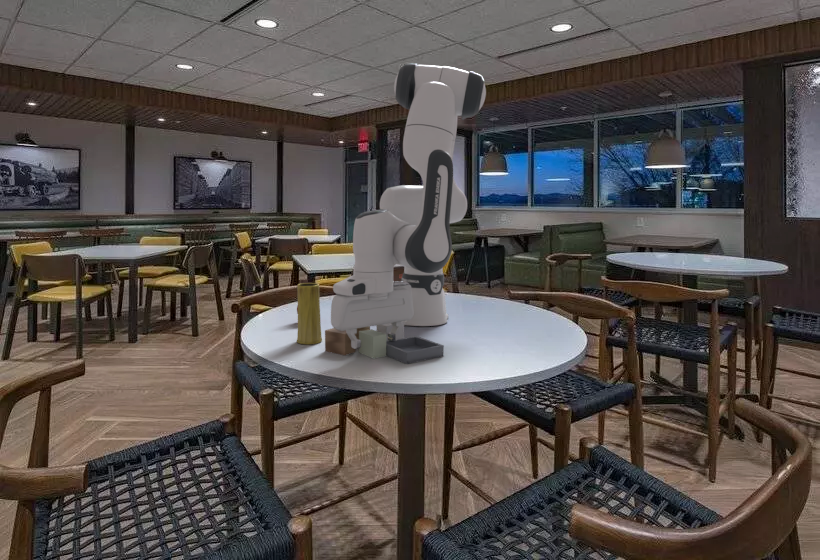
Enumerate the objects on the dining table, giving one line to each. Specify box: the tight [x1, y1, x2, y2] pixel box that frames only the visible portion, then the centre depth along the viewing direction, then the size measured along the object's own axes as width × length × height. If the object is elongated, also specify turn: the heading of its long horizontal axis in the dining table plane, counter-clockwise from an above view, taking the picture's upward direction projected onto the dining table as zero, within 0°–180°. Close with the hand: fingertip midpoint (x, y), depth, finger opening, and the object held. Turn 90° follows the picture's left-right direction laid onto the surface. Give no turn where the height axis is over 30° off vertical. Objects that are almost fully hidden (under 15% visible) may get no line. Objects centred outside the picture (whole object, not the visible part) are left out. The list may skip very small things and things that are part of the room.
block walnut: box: [324, 327, 356, 356], centre depth 119 cm, size 6×4×5 cm, turn 57°
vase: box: [296, 282, 323, 346], centre depth 127 cm, size 6×6×14 cm
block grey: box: [376, 322, 405, 341], centre depth 127 cm, size 6×4×5 cm, turn 136°
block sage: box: [358, 328, 387, 359], centre depth 117 cm, size 6×4×5 cm, turn 37°
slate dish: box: [385, 335, 445, 365], centre depth 117 cm, size 10×10×2 cm
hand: (374, 344), depth 117 cm, fingers open, 8 cm apart
